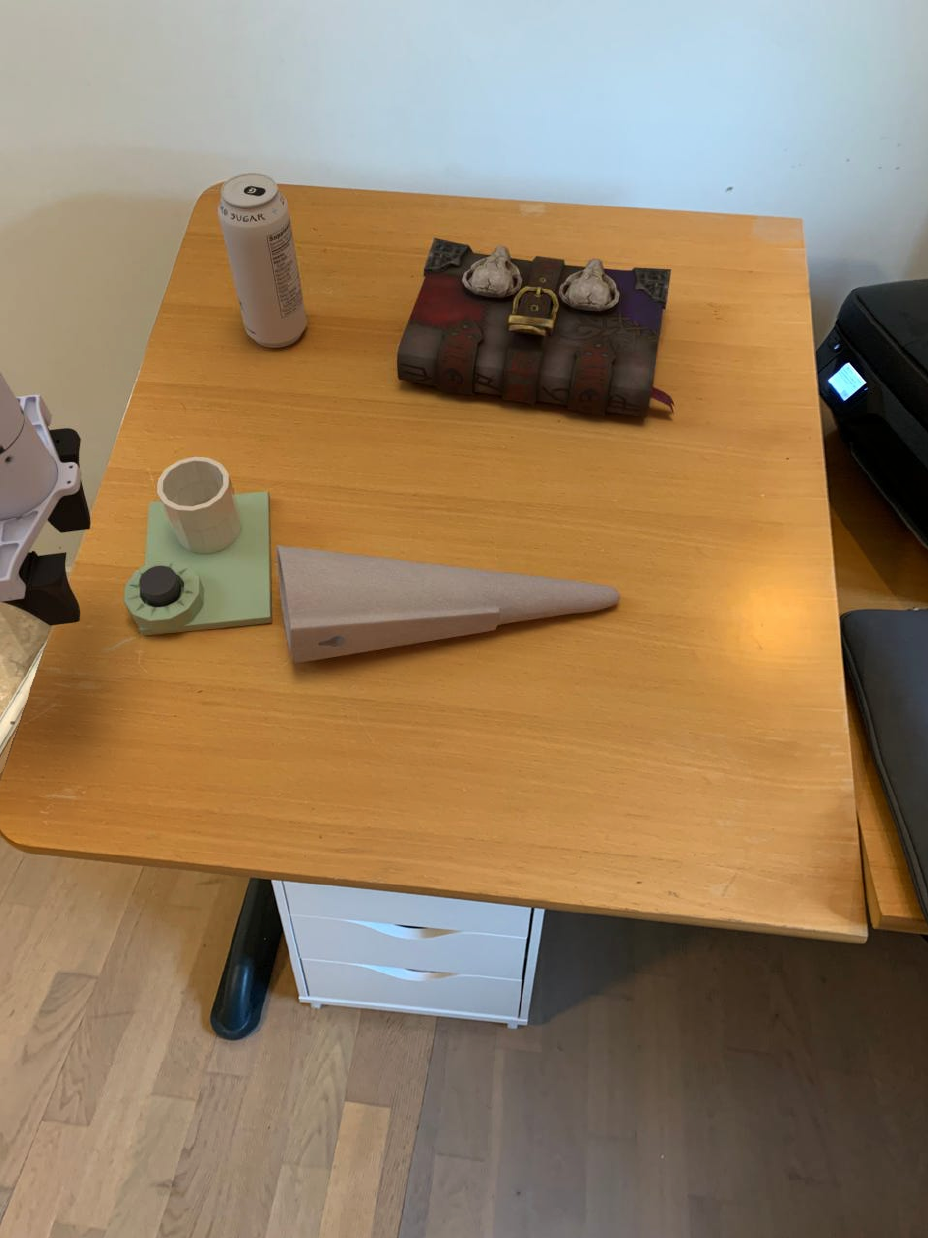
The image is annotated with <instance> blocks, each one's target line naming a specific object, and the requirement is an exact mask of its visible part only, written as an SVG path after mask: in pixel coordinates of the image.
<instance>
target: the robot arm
mask: <svg viewBox="0 0 928 1238" xmlns="http://www.w3.org/2000/svg"><path fill="white" fill-rule="evenodd" d="M52 418H53V414H52V413H51V411H50V409H49V408H48V406H47V404H46V403H45V401H44V399H43V397H42V395H41V394H40V393H37V394H36V393H35V394H28V395H20V396H16V394H15V393H14V392H13V390H12V388H11V387H10V385H9V383H8V382H7V380H6V379H5V377H4V375H3V374H2V372H1V371H0V603H2V604H7V605H10V606H13V607H15V608H17V609H20V610H22V611H24V612H26V613H28V614H30V615H32V616H34V617H35V618H37V619H38V620H40V621H42V622H43V623H45V624H47V625H48V626H50V627H51V626H59V625H67V624H75V623H76V624H77V623H79V622H80V621H81V607H80V604H79V601H78V599H77V597H76V596H75V593H74V591H73V589H72V588H71V585H70V582H69V579H68V576H67V570H66V569H67V568H66V561H67V551H65V552H56V553H50V554H49V553H48V554H41V555H38V554H37V552H36V551H35V550H32V551H30V550H31V549H32V547H33V546H34V544H35V542H36V540H37V539H38V538H39V535H40V533H41V531H42V530H43V528H44V526H45V525H46V523H49V524H50V525H51V526H52V527H53V528H54V529H56V531H57V532H59V533H60V534H62V533H63V534H64V533H70V532H78V531H86V530H90V529H91V515H90V510H89V505H88V503H87V502H88V501H87V497H86V495H85V490H84V485H83V480H82V470H81V464H80V451H81V442H82V441H81V440H82V438H81V437H80V435H79V433H78V431H77V430H75V429H73V428H69V427H64V428H55V429H50V426H51V423H52Z"/></svg>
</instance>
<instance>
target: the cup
mask: <svg viewBox="0 0 928 1238" xmlns="http://www.w3.org/2000/svg"><path fill="white" fill-rule="evenodd" d="M232 483H233V482H232V480H231V477H230V474H229V472H228V470H227V469H226V468H225V466H224V465H223V464H222V463H221V462H219V461H217V460H215V459H213V458H211V457H205V456H191V457H187V458H183V459H179V460H177V461H175V462H174V463H173V464H170V465H169V466H168V467H166V468H164V471H163V472H162V473H161V475H160V476H159V478H158V479H157V484H156V485H157V486H156V494H157V496H158V499H159V501H161V504H162V506H163V509H164V511H165V514H166V516H167V519H168V521H169V524H170V526H171V529H172V531H173V533H174V535H175V537H176V539H177V541H178V543H179V544H180V545H181V546H182V547H183V548H185V549H187V550H189V551H191V552H194V553H200V554H207V553H214V552H217V551H220V550H222V549H225V548H226V547H228V546H229V545H231V544H232V543H233V542H234V541H235V540H236V539H237V537H238V536H239V534H240V532H241V528H242V520H241V513H240V510H239V507H238V503H237V500H236V497H235V494H236V493H235V490H234V487H233V484H232Z"/></svg>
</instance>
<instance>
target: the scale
mask: <svg viewBox="0 0 928 1238" xmlns="http://www.w3.org/2000/svg"><path fill="white" fill-rule="evenodd" d="M235 497H236V500H237V503H238V507H239V510H240V513H241V520H242V528H241V532H240V534H239V536H238V537H237V539H236V540H235V541H234V542H233V543H232V544H231V545H229V546H228V547H226V548H225V549H222V550H220V551H217V552H214V553H207V554H200V553H194V552H191V551H189V550H187V549H185V548H183V547H182V546H181V545H180V544H179V543H178V541H177V539H176V537H175V535H174V533H173V531H172V529H171V526H170V524H169V521H168V519H167V516H166V514H165V511H164V509H163V506H162V504H161V501H160V500H153V501H149V502H148V513H147V527H146V540H145V551H144V565H143V566H141V567H139V568H138V569H136V570H135V571H134V572H133V574H132V575H131V576H130V578H129V579H128V580H127V581H126V583H125V584H124V592H123V603H124V605H125V606H126V608H127V611H128V612H129V614H130V615H131V617H132V618H133V620H134V621H135V623H136V625H138V626H139V632H140V633H141V635H142V636H143V637H145V636H154V635H164V634H174V633H183V632H185V633H186V632H194V631H204V630H214V629H215V630H216V629H224V628H235V627H244V626H253V625H263V624H271V623H273V597H272V596H273V595H272V593H273V592H272V590H273V589H272V546H271V545H272V543H271V542H272V541H271V539H272V538H271V536H272V535H271V497H270V493H269V491H268V490H264V491H254V492H242V493H235ZM154 566H167V567H170V568H171V569H173V570H174V572H175V573H176V576H177V578H178V580H179V583H180V585H181V593H180V596H179V597H178V598H177V600H176V601H174V602H173V603H171V604H169V605H166V606H154V605H151V604H150V603H148V602H147V600H146V599H145V597H144V595H143V593H142V591H141V589H140V586H139V580H140V577H141V576H142V574H143V573H144V572H145V571H146V570H148V569H149V568H152V567H154Z"/></svg>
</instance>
